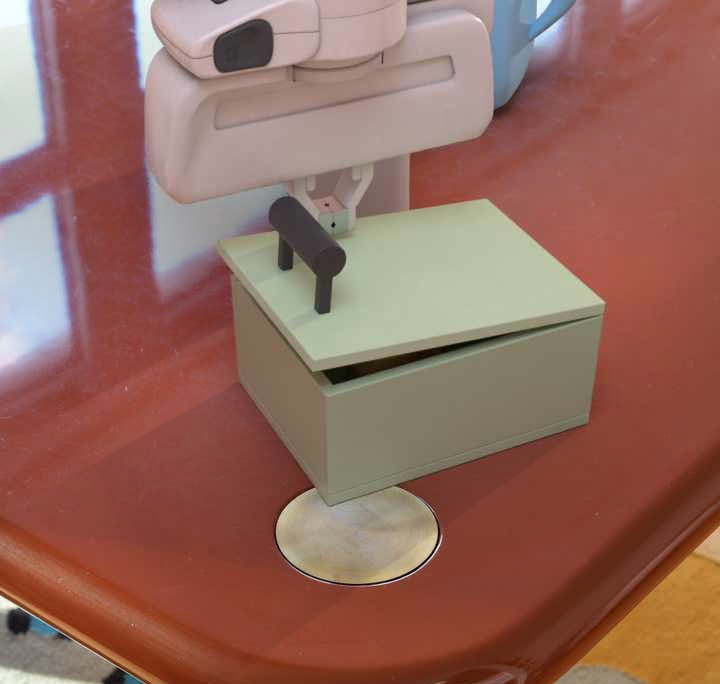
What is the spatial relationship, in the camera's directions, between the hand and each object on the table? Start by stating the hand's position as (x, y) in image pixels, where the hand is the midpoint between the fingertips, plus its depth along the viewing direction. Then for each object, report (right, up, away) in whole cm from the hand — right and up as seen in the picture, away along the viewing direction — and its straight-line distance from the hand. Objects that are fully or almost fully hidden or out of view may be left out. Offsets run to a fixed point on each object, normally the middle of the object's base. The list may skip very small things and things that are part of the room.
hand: (327, 232), depth 80 cm
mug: (+1, +7, +23) cm, 24 cm away
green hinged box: (+5, -10, +4) cm, 12 cm away
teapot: (+10, +20, +37) cm, 44 cm away
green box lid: (+5, -3, -2) cm, 6 cm away
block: (+4, -9, +4) cm, 11 cm away
